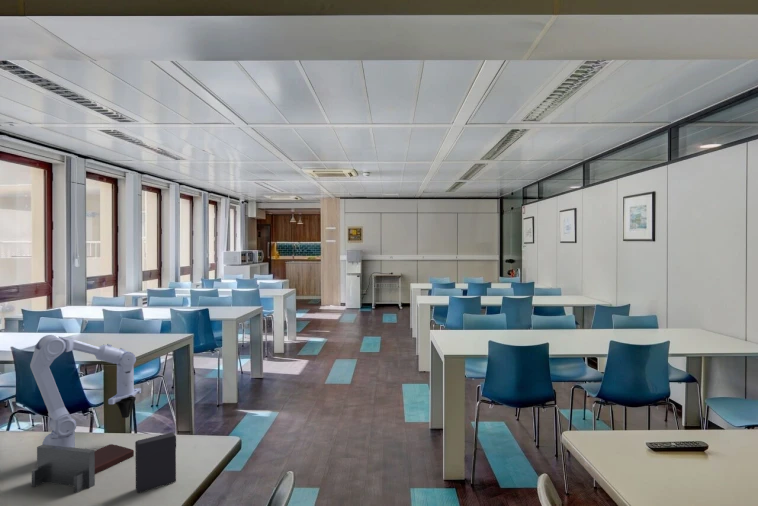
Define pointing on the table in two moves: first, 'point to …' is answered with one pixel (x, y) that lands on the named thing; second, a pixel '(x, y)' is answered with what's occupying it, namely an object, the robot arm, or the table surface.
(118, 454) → the book
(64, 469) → the bookend
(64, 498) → the table surface
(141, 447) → the upright charcoal tile
